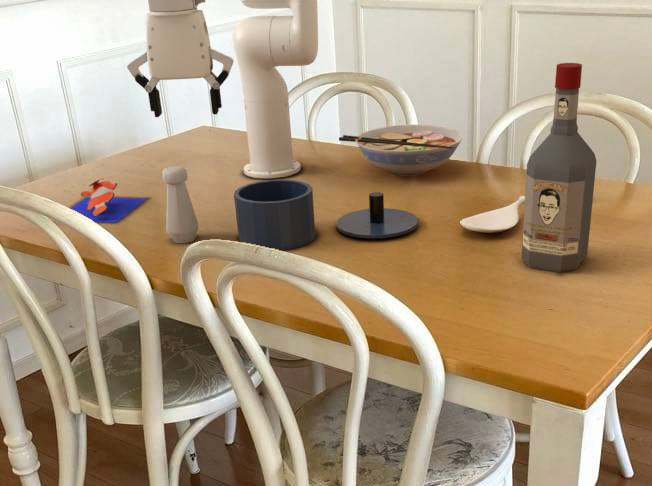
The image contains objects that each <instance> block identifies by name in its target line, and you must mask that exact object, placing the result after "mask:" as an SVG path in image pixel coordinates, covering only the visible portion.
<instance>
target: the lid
mask: <svg viewBox="0 0 652 486" xmlns="http://www.w3.org/2000/svg"><path fill="white" fill-rule="evenodd" d="M384 196H385V195H384V192H381V191H373V192H370V193H368V204H369V205H368V206H369V208H365V209H359V210H354V211H350V212H348V213H346V214H343V215H342V216H340V217H339V218H338V219H337V220H336V223H335V226H336V229H337V230H338V231H339V232H340V233H342V234H343V235H347V236H349V237H354V238H360V239H386V238H394V237H398V236H403V235H405V234H408V233H410V232H412V231H414V230H415V229H416V228H417V227H418V225H419V219H418V217H417V216H416V215H415V214H413V213H412V212H409V211H406V210H402V209H397V208H386V207H385V201H384V200H385V197H384Z"/></svg>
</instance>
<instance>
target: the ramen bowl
mask: <svg viewBox="0 0 652 486" xmlns="http://www.w3.org/2000/svg"><path fill="white" fill-rule="evenodd" d="M463 137H464V135H463V134H462V132H460V130H456V129H454V128H451V127H447V126H440V125H434V124H433V125H432V124H399V125H388V126H382V127H377V128H373V129H370V130H367V131H364V132H363V131H362V132H361V133H359V134H358V135H357V136H356V135H348V134H343V135H342V136H340V137H338V141H339V142H351V143H352V142H354V143H356V144H357V146H358V148H359V150H360V152H361V153H362V154H363V156H364V157H365V158H366V160H367V161H368V162H369V163H370V164H372V165H374V166H375V167H376V168H379V169H381V170H383V171H387V172H390V173H392V174H393V175H396V176H401V177H414V176H419V175H420V176H421V175H423V174H425V173H427V172H428V171H431V170H433V169H435V168H438V167H440V166H442V165H444V164H445V163H447V162H448V161H449V159H450V158H451V157H452V156H453V154H454V153H455V151H456V150H457V148H458V147H459V146H460V144H461V141H462V140H463Z"/></svg>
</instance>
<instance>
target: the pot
mask: <svg viewBox="0 0 652 486" xmlns="http://www.w3.org/2000/svg"><path fill="white" fill-rule="evenodd" d="M233 200H234V209H235V217H236V226H237V235H238V241H239V243H240V242H246V243H251V244H256V245H260V246H265V247H269V248H275V249H279V251H287V250H292V249H293V250H294V249H296V248H300V247H303V246H305V245H307V244H310V243H311V242H312V241H313V240H315V237H316V223H315V209H314V208H315V207H314V205H315V204H314V193H313V187H312V186H311V185H310V184H309V183H307V182H304V181H301V180H295V179H265V180H259V181H255V182H251V183H246V184H245V185H242V186H240V187H238V188H237V189H236V190H234V192H233Z"/></svg>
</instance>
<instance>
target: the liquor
mask: <svg viewBox="0 0 652 486" xmlns="http://www.w3.org/2000/svg"><path fill="white" fill-rule="evenodd" d="M582 69H583V64H582V63H580V62H579V63H578V62H562V63H557V64H556V68H555V83H554V88H555V95H554V96H555V97H554V107H553V108H554V109H553V119H552V125H551V127H550V133H549V134H548V135H547V137H545V139H544V140H542V142H541V144H539V146H538V147H537V148H536V149H535V150H534V151H533V152H532V153H531V154H530V156H529V158H528V160H527V163H526V173H525V191H524V192H525V193H524V196H525V203H524V208H523V226H522V242H521V244H522V245H521V259H522V261H523V263H525V264H526V265H527V266H528V267H529V268H531V269H536V270H543V271H549V272H555V273H565V272H572V271H575V270H576V269H577V268H578V267H579V266H580V265H581V264H582V263H583V261H584V260H585V259H586V257H587V256H588V253H589V241H590V233H591V232H590V231H591V230H590V229H591V222H592V221H591V220H592V211H593V201H594V192H595V191H594V190H595V180H596V171H597V170H596V169H597V158H596V154H595V152H594V151H593V149H592V148H591V147H590V146H589V145H588V143H587V142H586V141H585V140H584V137H582V136H581V134H580V133H579V126H578V110H579V109H578V108H579V94H580V89H581V85H582V72H583V71H582Z"/></svg>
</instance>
